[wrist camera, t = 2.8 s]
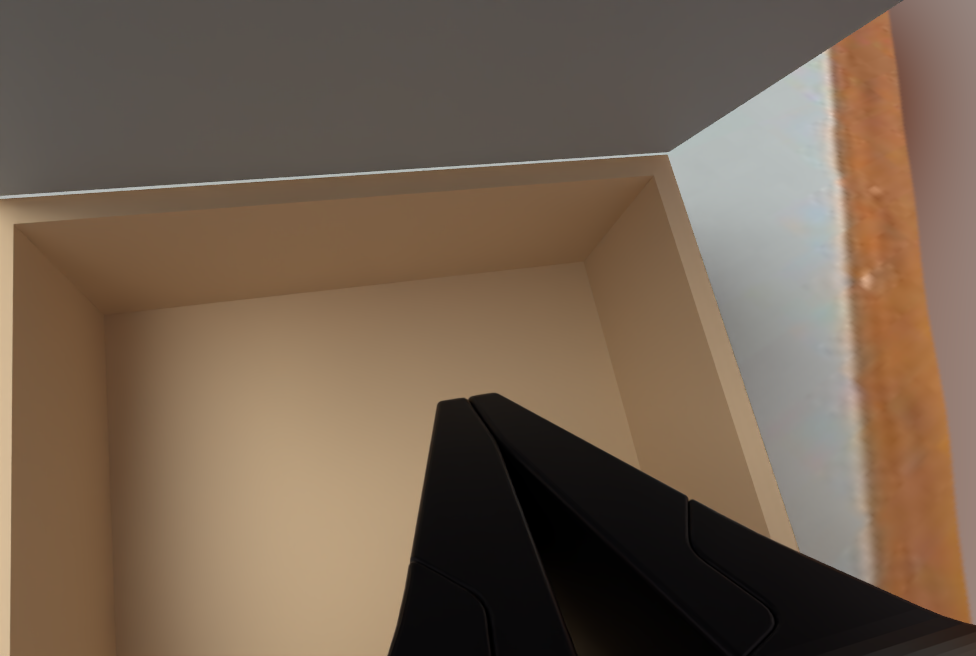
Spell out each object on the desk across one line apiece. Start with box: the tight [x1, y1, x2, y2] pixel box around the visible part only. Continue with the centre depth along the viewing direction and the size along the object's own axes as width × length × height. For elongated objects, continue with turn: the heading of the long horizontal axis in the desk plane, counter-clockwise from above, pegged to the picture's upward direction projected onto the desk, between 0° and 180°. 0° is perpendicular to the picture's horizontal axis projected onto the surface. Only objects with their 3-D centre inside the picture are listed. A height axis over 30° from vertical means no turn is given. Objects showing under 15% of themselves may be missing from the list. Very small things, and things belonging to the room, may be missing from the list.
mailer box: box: [0, 155, 800, 656], centre depth 16 cm, size 16×16×6 cm
